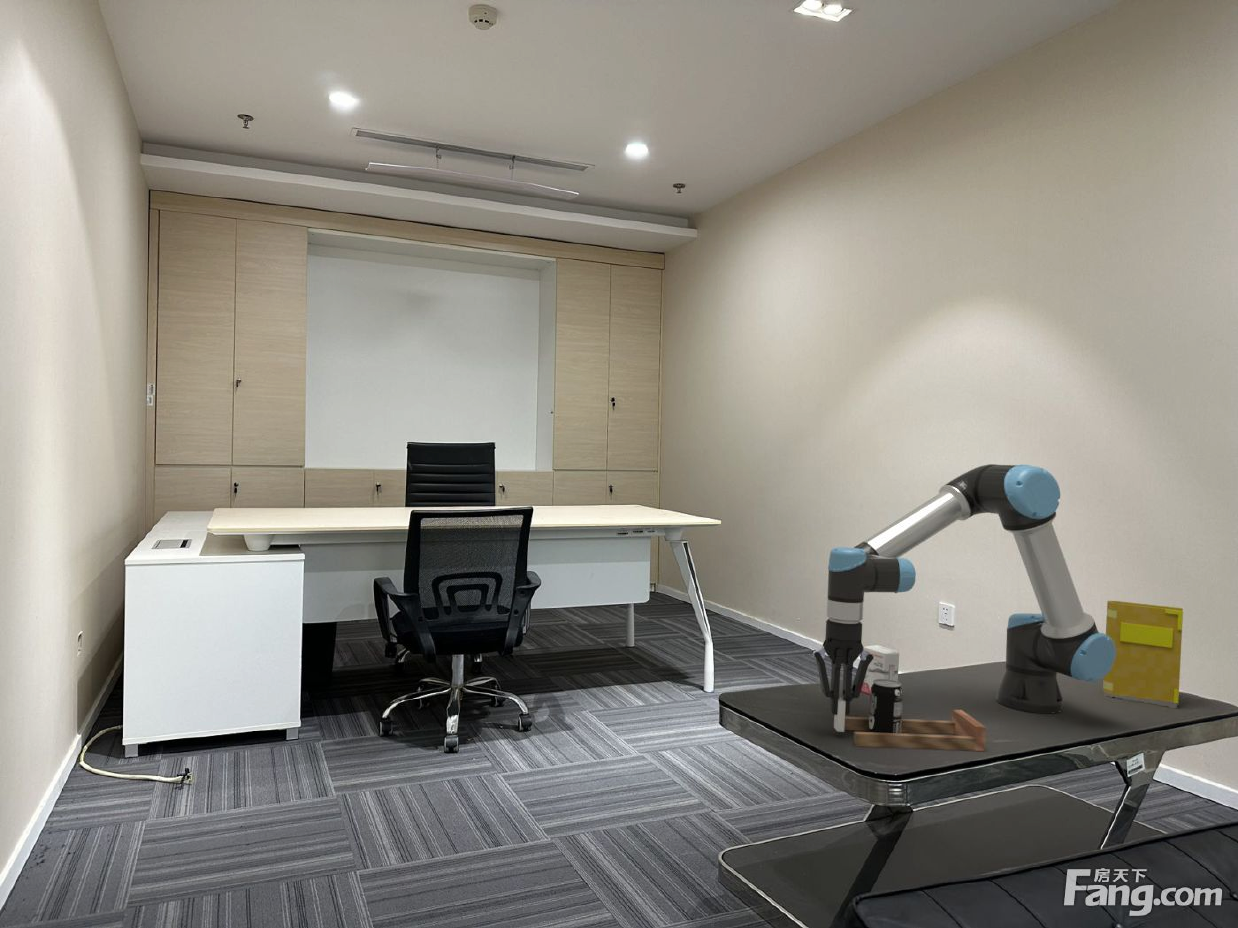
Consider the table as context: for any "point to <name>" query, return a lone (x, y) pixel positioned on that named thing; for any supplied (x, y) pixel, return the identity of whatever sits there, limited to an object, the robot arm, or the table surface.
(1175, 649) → the book
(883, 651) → the ink box
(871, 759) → the table surface
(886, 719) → the beverage can
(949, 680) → the table surface
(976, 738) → the channel
